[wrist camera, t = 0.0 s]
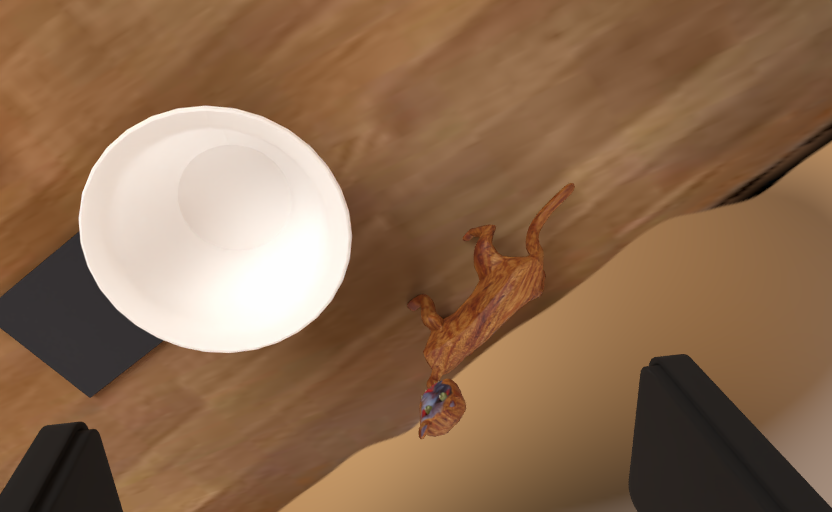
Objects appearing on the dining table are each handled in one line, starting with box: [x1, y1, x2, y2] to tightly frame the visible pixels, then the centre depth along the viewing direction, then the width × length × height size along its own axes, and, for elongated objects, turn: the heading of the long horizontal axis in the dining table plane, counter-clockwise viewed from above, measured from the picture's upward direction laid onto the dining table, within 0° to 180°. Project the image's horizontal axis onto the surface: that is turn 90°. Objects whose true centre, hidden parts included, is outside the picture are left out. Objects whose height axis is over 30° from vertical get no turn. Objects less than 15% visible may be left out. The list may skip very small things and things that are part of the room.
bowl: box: [79, 106, 352, 353], centre depth 43 cm, size 16×16×8 cm
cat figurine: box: [407, 183, 575, 439], centre depth 46 cm, size 18×7×14 cm, turn 136°
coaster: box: [0, 231, 164, 398], centre depth 49 cm, size 10×10×1 cm
